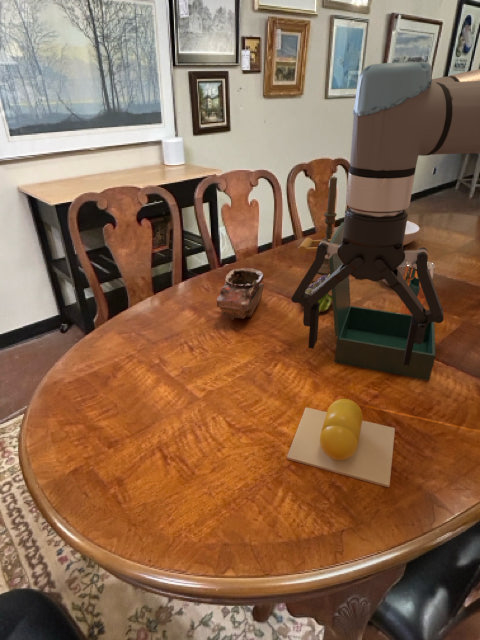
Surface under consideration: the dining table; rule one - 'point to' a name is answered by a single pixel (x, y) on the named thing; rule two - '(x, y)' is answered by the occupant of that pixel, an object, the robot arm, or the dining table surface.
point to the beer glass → (415, 284)
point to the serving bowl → (410, 232)
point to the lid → (340, 290)
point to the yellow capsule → (341, 429)
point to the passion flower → (325, 299)
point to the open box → (384, 343)
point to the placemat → (363, 464)
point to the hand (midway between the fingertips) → (358, 351)
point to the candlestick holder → (329, 220)
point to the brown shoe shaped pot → (241, 292)
